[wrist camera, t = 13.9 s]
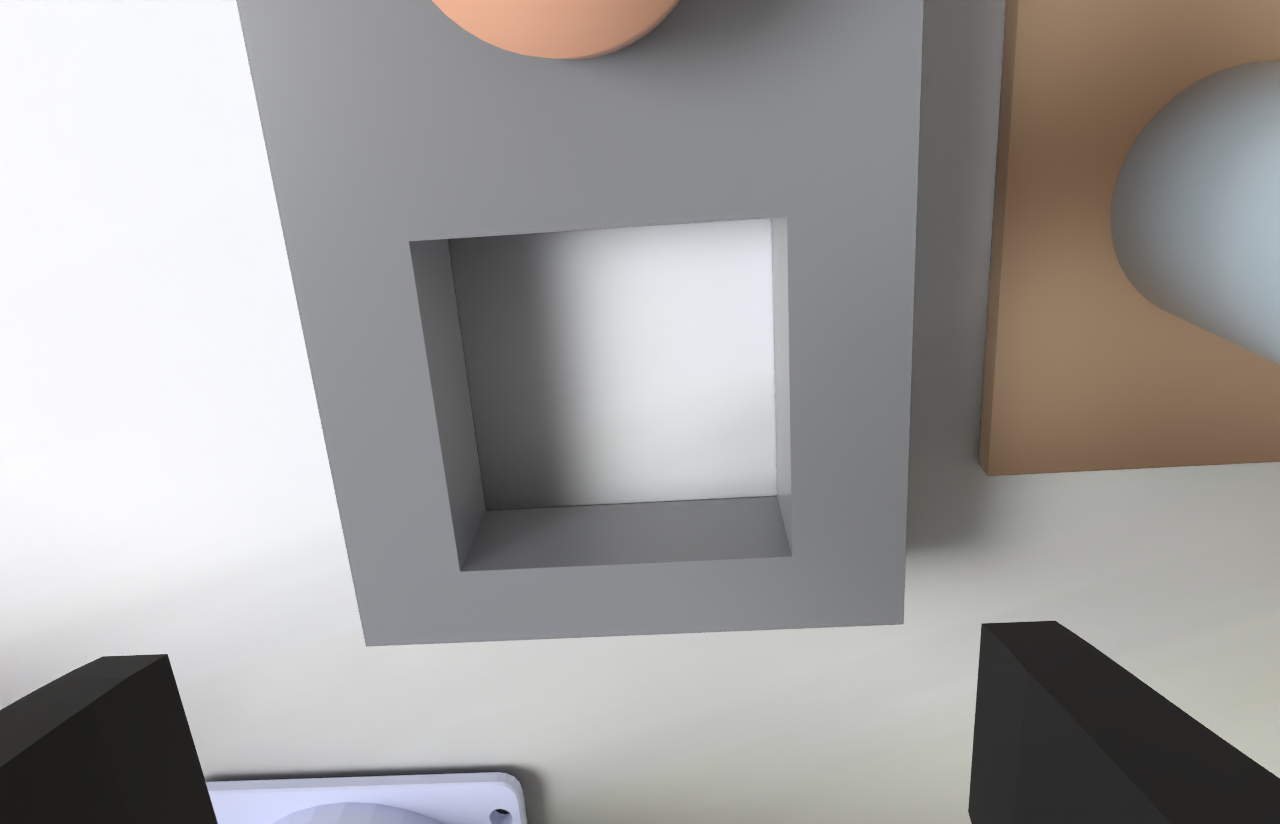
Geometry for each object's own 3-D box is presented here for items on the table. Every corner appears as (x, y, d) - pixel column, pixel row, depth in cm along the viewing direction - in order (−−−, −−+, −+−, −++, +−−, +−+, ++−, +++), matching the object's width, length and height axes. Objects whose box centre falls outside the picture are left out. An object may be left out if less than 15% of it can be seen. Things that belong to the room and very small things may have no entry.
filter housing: (875, 556, 19) (903, 623, 17) (402, 578, 20) (366, 646, 17) (894, -394, 14) (939, -490, 11) (239, -328, 14) (154, -407, 12)
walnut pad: (1395, 442, 18) (1419, 454, 17) (977, 463, 18) (988, 476, 18) (1529, -144, 15) (1563, -154, 14) (1012, -102, 15) (1025, -108, 14)
